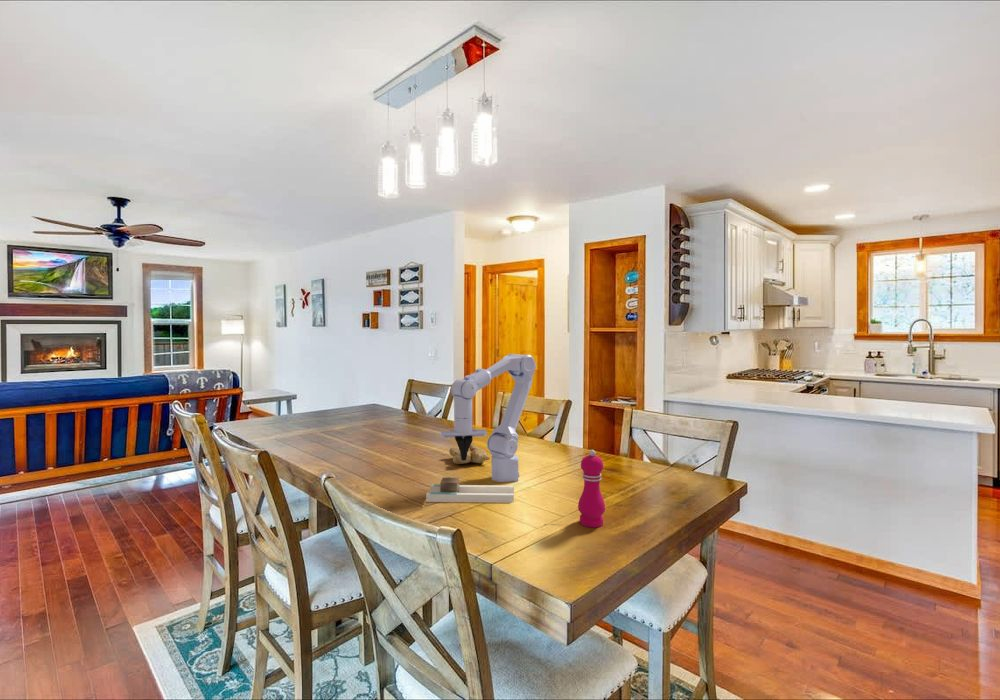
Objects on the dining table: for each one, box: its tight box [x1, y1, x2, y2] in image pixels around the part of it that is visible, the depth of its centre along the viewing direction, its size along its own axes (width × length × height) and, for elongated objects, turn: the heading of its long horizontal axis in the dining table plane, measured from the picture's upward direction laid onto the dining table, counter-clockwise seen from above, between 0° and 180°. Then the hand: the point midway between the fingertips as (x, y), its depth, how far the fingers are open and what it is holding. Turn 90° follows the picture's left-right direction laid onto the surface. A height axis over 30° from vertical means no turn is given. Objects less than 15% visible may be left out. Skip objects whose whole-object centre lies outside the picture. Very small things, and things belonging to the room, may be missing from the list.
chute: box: [425, 483, 515, 504], centre depth 154 cm, size 26×10×3 cm, turn 88°
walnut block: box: [439, 477, 460, 493], centre depth 154 cm, size 5×5×5 cm
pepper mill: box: [577, 449, 606, 528], centre depth 135 cm, size 7×7×20 cm
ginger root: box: [449, 442, 490, 465], centre depth 194 cm, size 16×16×8 cm
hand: (463, 459), depth 160 cm, fingers closed
